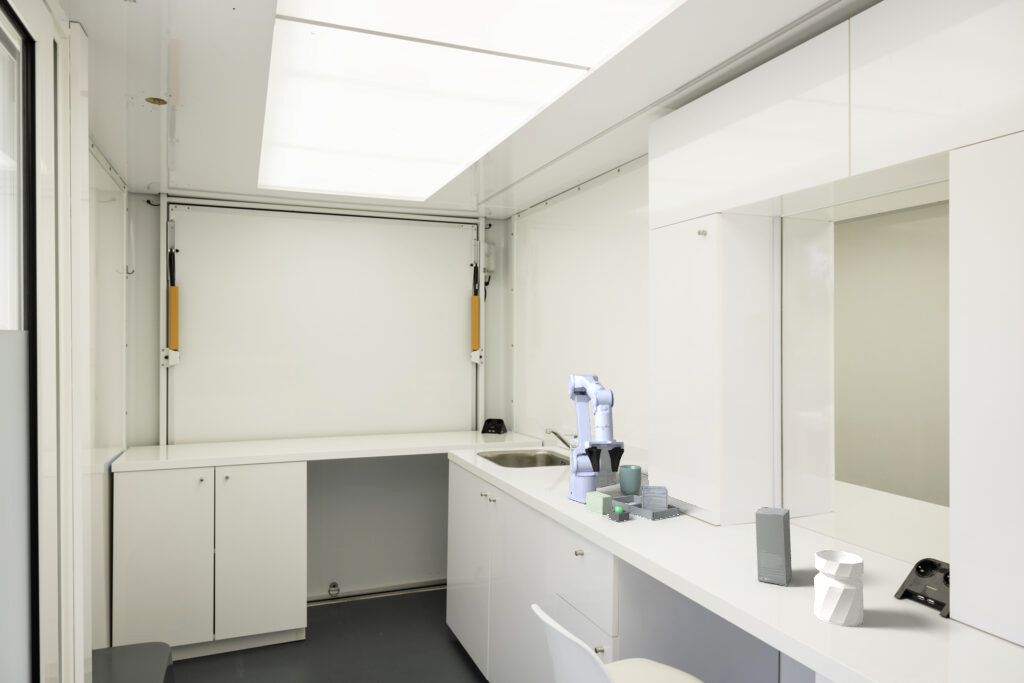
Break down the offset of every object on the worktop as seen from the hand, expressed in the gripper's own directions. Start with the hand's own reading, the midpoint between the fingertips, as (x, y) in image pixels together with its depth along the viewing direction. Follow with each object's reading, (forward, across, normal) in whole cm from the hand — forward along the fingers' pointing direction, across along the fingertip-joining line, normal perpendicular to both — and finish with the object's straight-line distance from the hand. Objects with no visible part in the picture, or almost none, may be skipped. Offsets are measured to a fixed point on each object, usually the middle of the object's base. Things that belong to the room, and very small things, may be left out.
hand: (605, 471), depth 197 cm
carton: (+13, +5, +10) cm, 17 cm away
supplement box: (+4, +32, +44) cm, 54 cm away
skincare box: (+26, +1, -55) cm, 61 cm away
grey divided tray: (+12, +19, +4) cm, 23 cm away
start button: (+13, +5, 0) cm, 14 cm away
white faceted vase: (+30, -7, -75) cm, 81 cm away
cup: (+8, +32, +23) cm, 40 cm away
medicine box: (+14, +19, -1) cm, 23 cm away
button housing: (+14, +5, 0) cm, 15 cm away
